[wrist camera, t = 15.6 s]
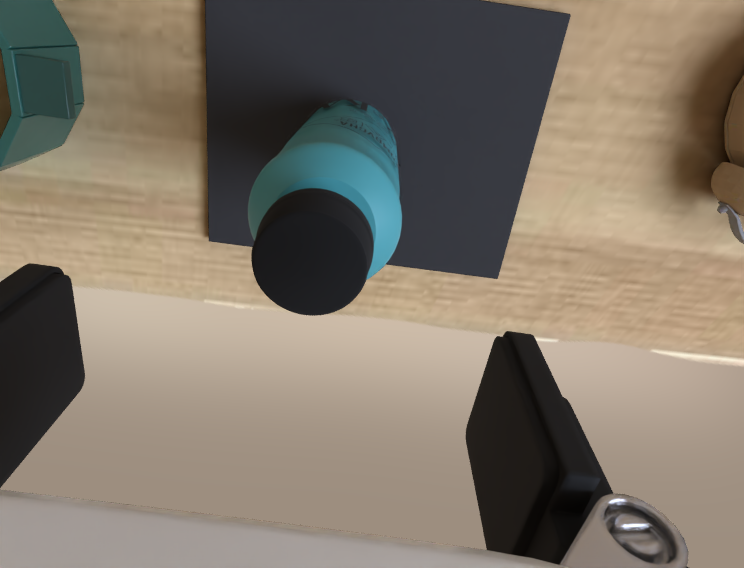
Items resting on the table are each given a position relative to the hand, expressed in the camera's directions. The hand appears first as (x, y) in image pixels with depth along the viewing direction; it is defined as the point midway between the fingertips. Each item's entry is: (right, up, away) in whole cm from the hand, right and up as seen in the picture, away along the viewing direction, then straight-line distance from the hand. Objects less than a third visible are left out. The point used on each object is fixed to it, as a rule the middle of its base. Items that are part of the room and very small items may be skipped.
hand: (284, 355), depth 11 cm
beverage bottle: (0, +11, +23) cm, 26 cm away
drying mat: (+2, +12, +23) cm, 26 cm away
